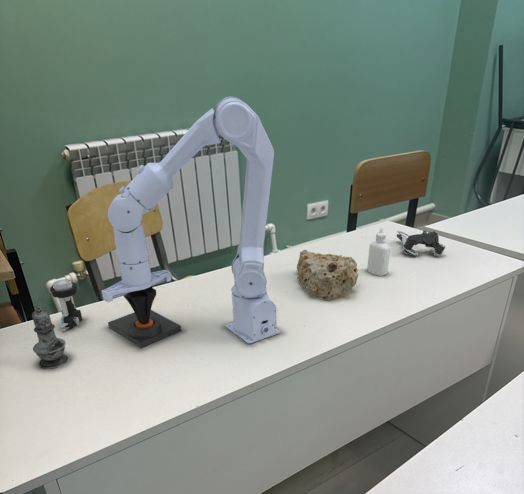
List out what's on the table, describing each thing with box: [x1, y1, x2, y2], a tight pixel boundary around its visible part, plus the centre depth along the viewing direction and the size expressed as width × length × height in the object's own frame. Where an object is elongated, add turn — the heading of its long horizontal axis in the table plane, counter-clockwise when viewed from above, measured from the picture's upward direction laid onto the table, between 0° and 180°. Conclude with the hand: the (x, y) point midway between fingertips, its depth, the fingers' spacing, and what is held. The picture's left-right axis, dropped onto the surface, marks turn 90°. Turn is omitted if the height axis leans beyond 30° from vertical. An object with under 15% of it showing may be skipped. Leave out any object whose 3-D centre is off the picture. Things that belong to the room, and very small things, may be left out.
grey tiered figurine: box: [31, 305, 69, 370], centre depth 90 cm, size 6×6×12 cm
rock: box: [296, 249, 359, 301], centre depth 121 cm, size 21×14×10 cm
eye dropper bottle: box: [366, 228, 391, 277], centre depth 126 cm, size 4×6×12 cm
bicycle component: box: [396, 230, 446, 257], centre depth 142 cm, size 12×7×15 cm
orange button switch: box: [107, 309, 182, 349], centre depth 103 cm, size 13×10×3 cm
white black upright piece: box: [49, 278, 83, 332], centre depth 103 cm, size 7×5×10 cm
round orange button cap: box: [135, 319, 154, 328], centre depth 99 cm, size 4×4×2 cm
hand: (143, 322), depth 99 cm, fingers closed, pressing on round orange button cap
